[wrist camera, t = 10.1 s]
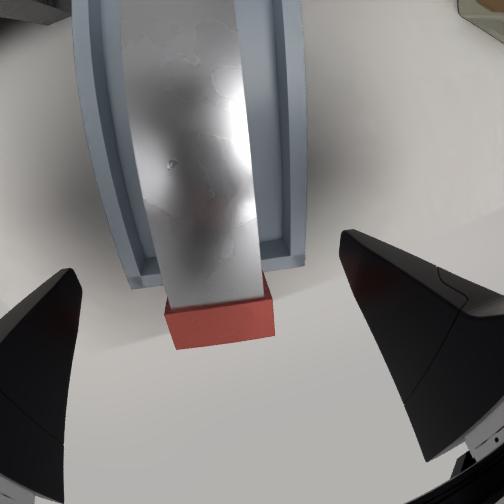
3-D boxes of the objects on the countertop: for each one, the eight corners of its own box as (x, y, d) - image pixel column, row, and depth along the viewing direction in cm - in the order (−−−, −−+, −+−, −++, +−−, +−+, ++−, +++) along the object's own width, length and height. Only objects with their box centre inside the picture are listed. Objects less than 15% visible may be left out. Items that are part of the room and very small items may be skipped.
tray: (277, -65, 8) (290, -84, 6) (292, 242, 18) (304, 265, 16) (91, -39, 7) (74, -54, 5) (138, 263, 17) (131, 289, 15)
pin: (230, -2, 10) (239, -40, 6) (260, 287, 16) (274, 335, 13) (134, 13, 9) (109, -18, 6) (180, 299, 16) (176, 349, 12)
